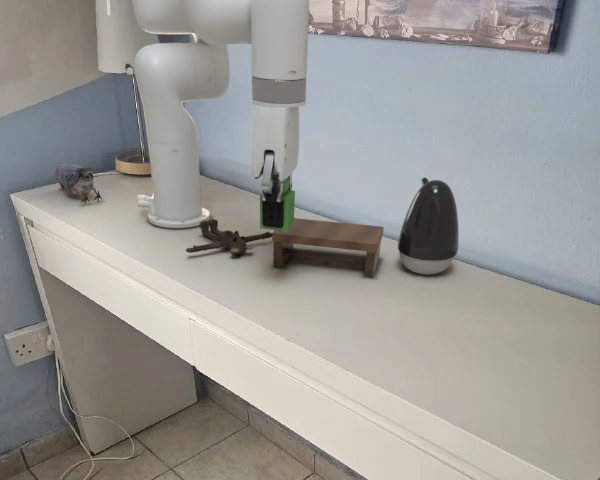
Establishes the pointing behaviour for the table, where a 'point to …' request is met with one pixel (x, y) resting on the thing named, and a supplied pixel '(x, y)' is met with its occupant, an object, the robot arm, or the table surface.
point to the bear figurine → (225, 239)
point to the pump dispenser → (430, 229)
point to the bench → (329, 242)
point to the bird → (76, 180)
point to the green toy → (289, 203)
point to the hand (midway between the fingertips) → (277, 219)
